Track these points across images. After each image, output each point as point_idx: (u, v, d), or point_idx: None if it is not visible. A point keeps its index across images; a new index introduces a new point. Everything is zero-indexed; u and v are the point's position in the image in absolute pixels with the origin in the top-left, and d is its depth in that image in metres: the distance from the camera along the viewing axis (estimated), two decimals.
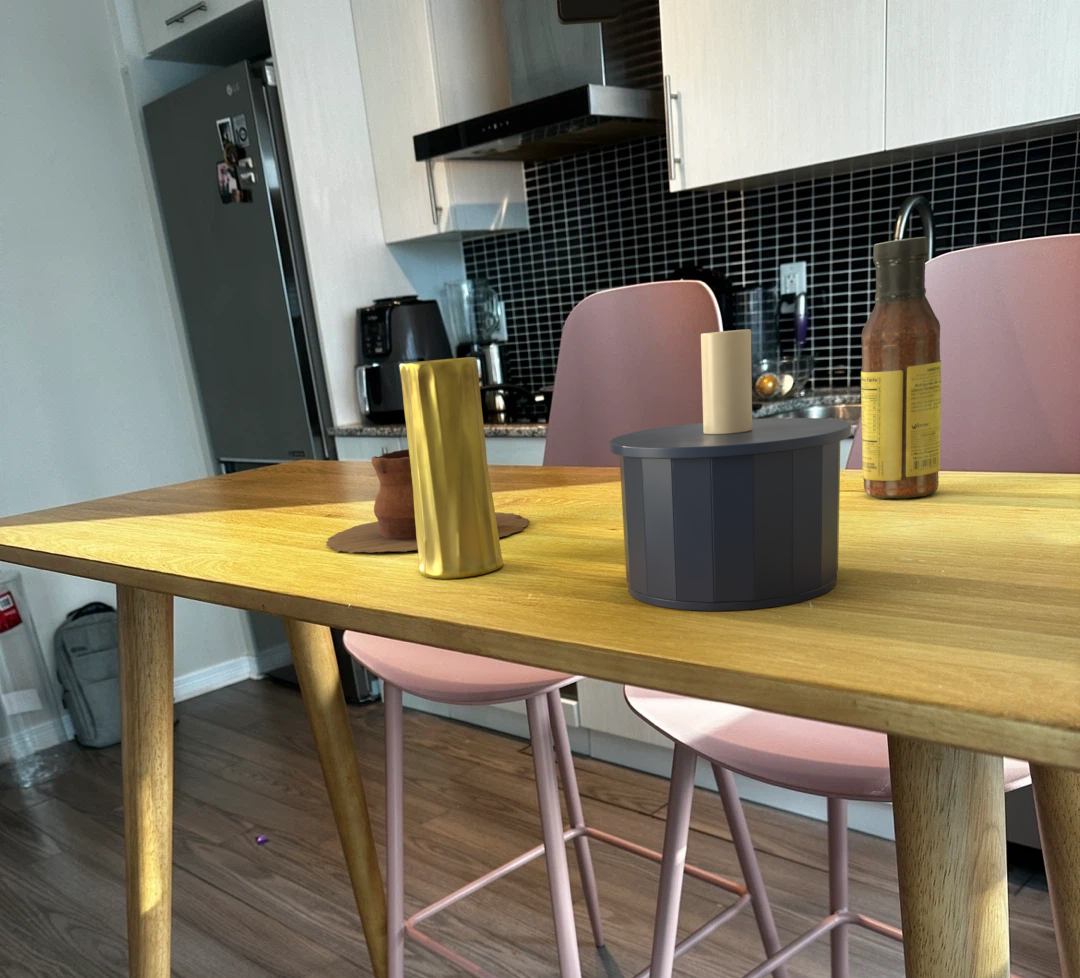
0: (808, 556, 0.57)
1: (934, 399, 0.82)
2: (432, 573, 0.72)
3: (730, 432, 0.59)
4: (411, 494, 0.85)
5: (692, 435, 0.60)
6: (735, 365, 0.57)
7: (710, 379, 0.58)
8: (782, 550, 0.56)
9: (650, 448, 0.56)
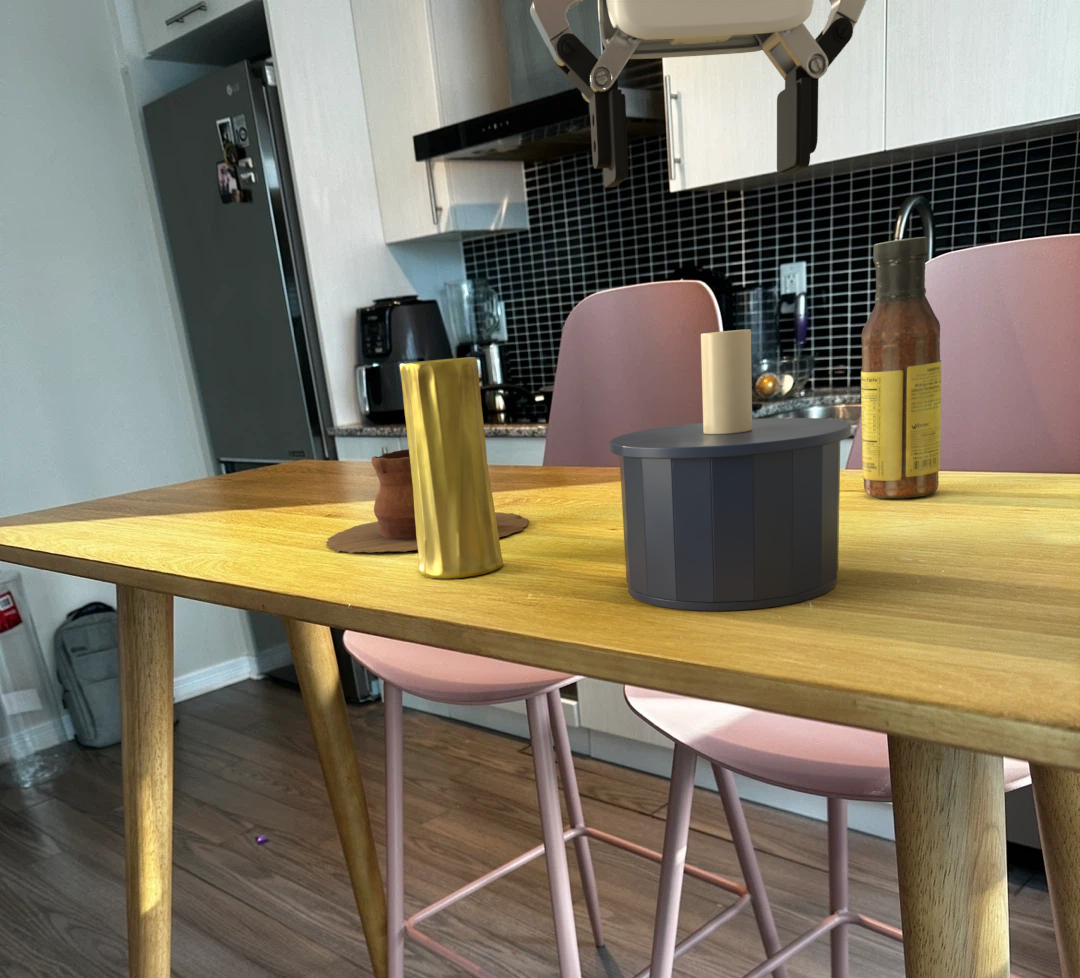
0: (808, 556, 0.57)
1: (934, 399, 0.82)
2: (432, 573, 0.72)
3: (730, 432, 0.59)
4: (411, 494, 0.85)
5: (692, 435, 0.60)
6: (735, 365, 0.57)
7: (710, 379, 0.58)
8: (782, 550, 0.56)
9: (650, 448, 0.56)
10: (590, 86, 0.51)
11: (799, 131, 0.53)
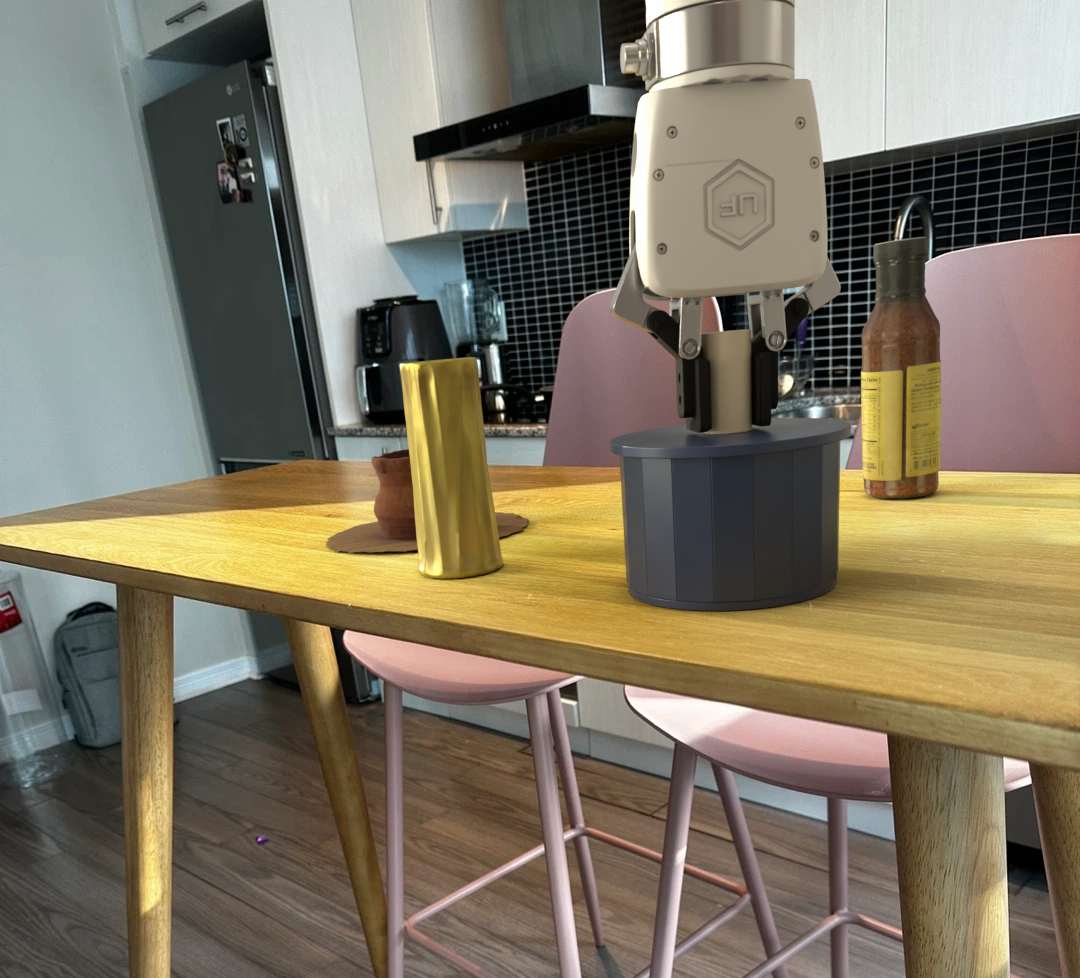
0: (808, 556, 0.57)
1: (934, 399, 0.82)
2: (432, 573, 0.72)
3: (730, 432, 0.59)
4: (411, 494, 0.85)
5: (692, 435, 0.60)
6: (735, 365, 0.57)
7: None
8: (782, 550, 0.56)
9: (650, 448, 0.56)
10: (683, 358, 0.57)
11: (761, 397, 0.58)
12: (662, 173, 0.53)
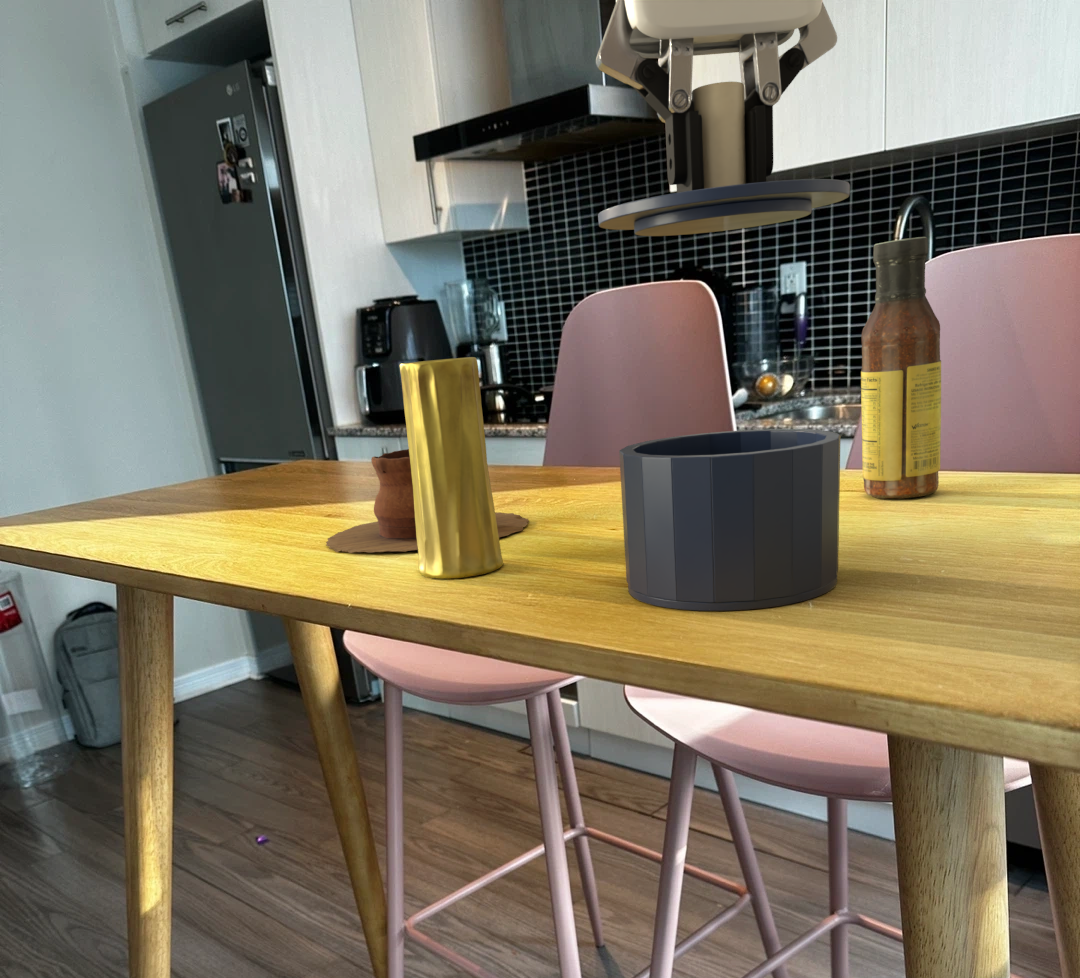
0: (808, 556, 0.57)
1: (934, 399, 0.82)
2: (432, 573, 0.72)
3: None
4: (411, 494, 0.85)
5: None
6: (728, 120, 0.55)
7: (702, 138, 0.55)
8: (782, 550, 0.56)
9: (640, 200, 0.53)
10: (673, 113, 0.55)
11: (755, 156, 0.55)
12: None
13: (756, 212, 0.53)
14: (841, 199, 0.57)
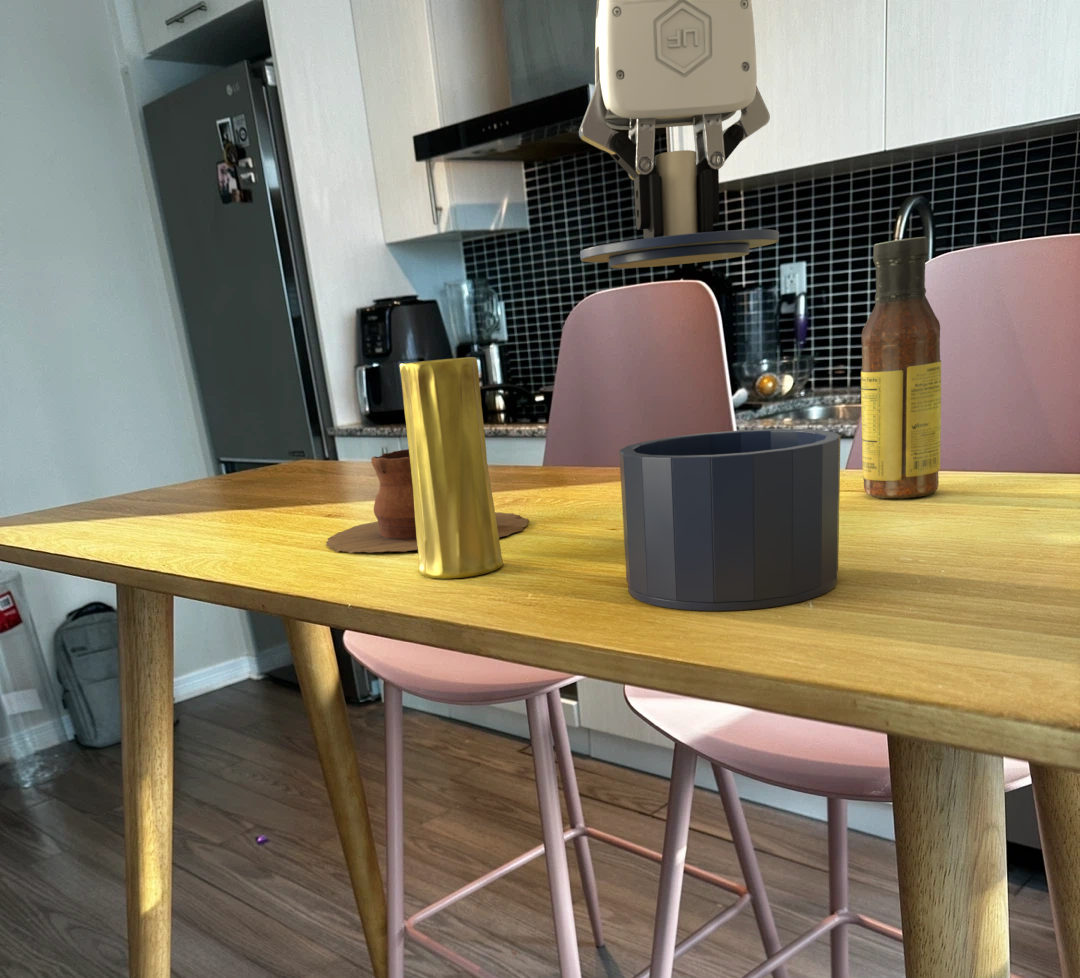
0: (808, 556, 0.57)
1: (934, 399, 0.82)
2: (432, 573, 0.72)
3: None
4: (411, 494, 0.85)
5: None
6: (683, 180, 0.69)
7: (662, 193, 0.70)
8: (782, 550, 0.56)
9: (611, 244, 0.68)
10: (639, 174, 0.69)
11: (704, 208, 0.70)
12: (619, 10, 0.65)
13: (702, 254, 0.68)
14: (773, 242, 0.72)
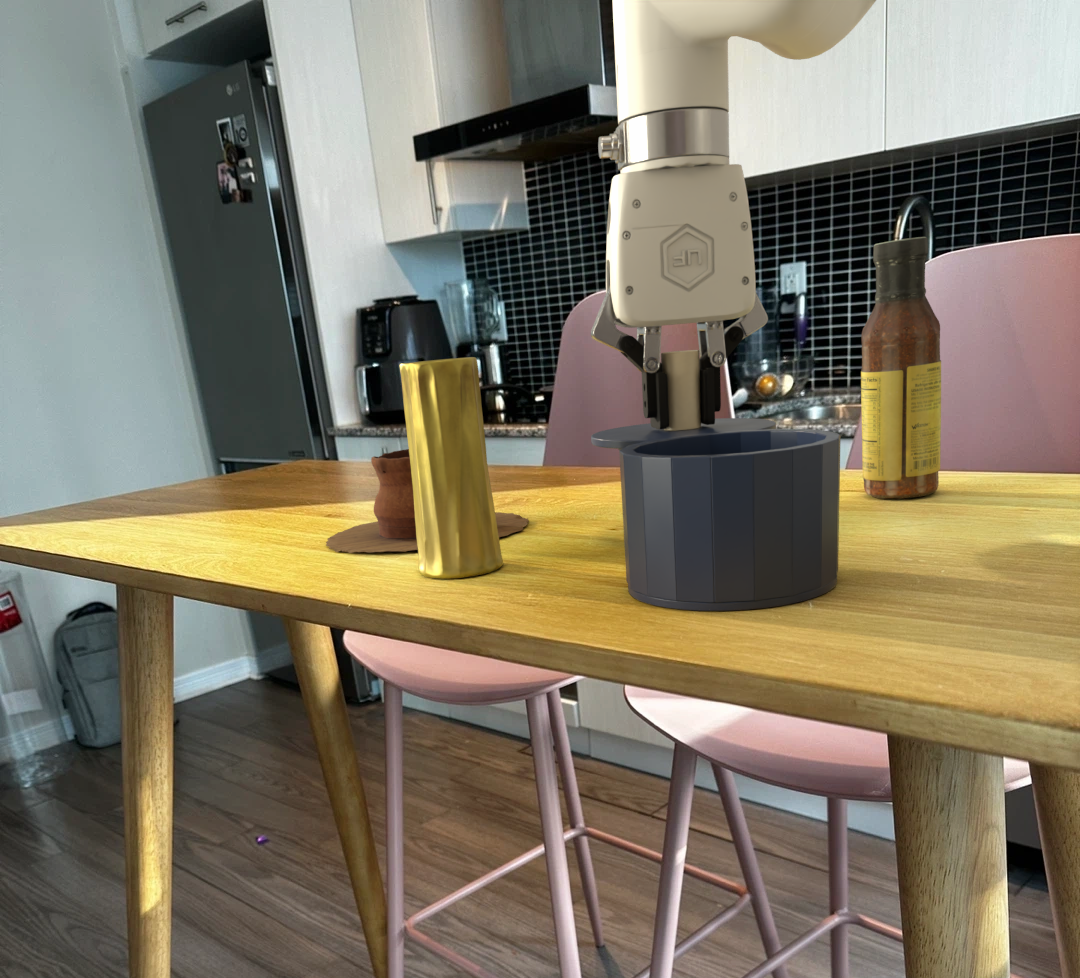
0: (808, 556, 0.57)
1: (934, 399, 0.82)
2: (432, 573, 0.72)
3: (683, 429, 0.76)
4: (411, 494, 0.85)
5: (654, 431, 0.77)
6: (687, 377, 0.75)
7: (668, 388, 0.76)
8: (782, 550, 0.56)
9: (620, 441, 0.73)
10: (647, 372, 0.75)
11: (707, 402, 0.75)
12: (629, 234, 0.70)
13: None
14: None
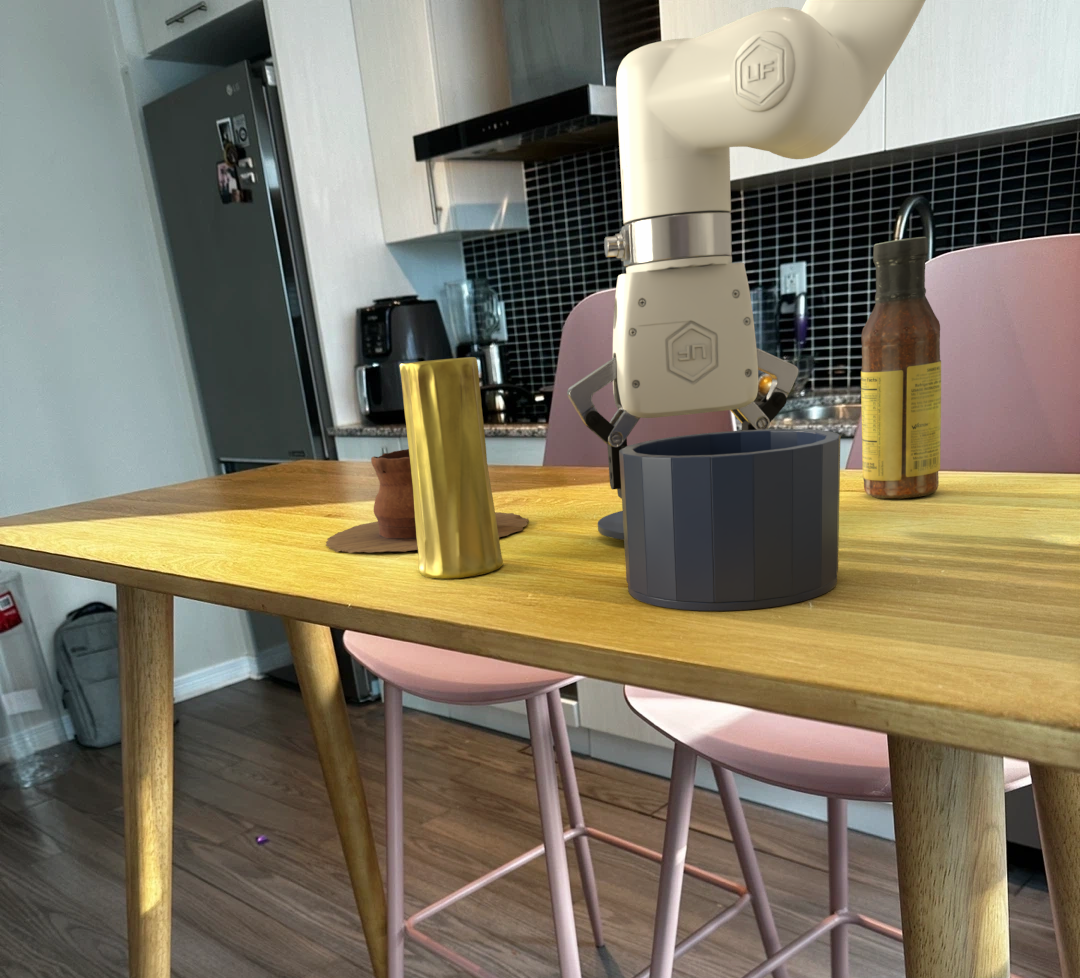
0: (808, 556, 0.57)
1: (934, 399, 0.82)
2: (432, 573, 0.72)
3: None
4: (411, 494, 0.85)
5: None
6: None
7: None
8: (782, 550, 0.56)
9: None
10: (608, 443, 0.76)
11: None
12: (635, 331, 0.72)
13: None
14: None
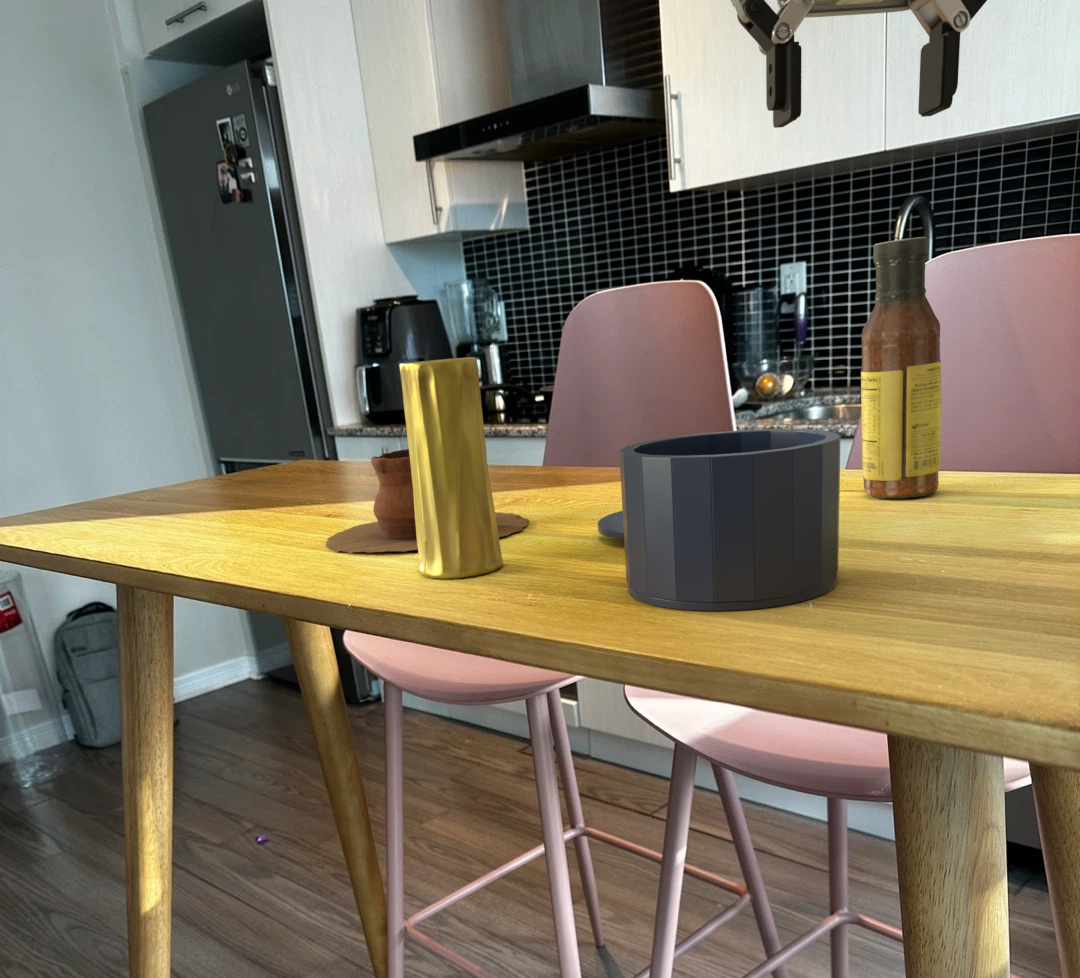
0: (808, 556, 0.57)
1: (934, 399, 0.82)
2: (432, 573, 0.72)
3: None
4: (411, 494, 0.85)
5: None
6: None
7: None
8: (782, 550, 0.56)
9: None
10: (772, 39, 0.61)
11: (944, 77, 0.63)
12: None
13: None
14: None
